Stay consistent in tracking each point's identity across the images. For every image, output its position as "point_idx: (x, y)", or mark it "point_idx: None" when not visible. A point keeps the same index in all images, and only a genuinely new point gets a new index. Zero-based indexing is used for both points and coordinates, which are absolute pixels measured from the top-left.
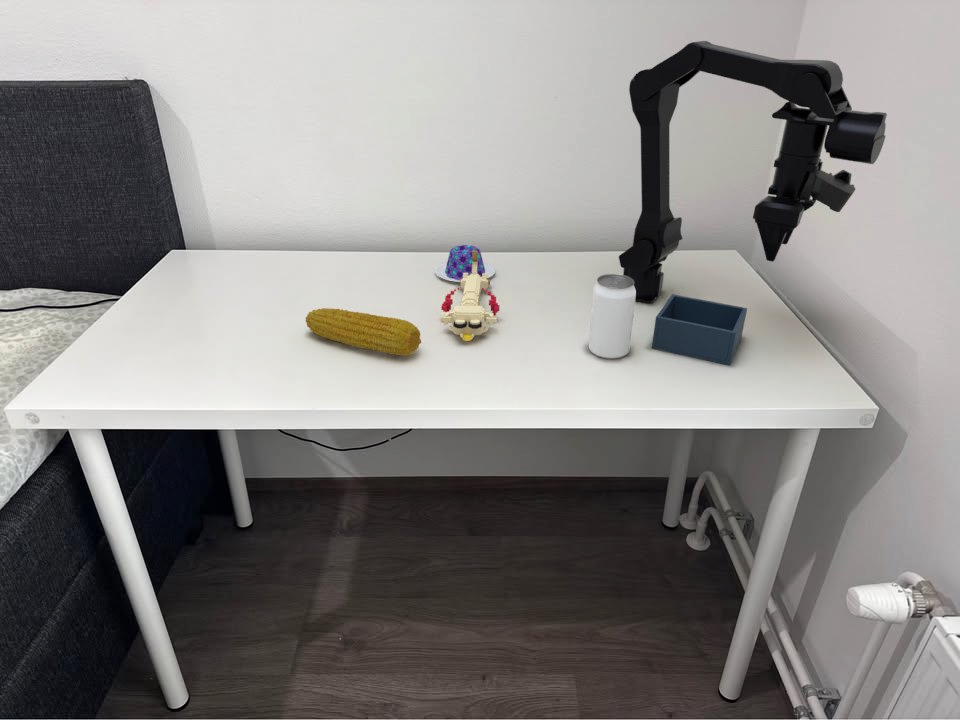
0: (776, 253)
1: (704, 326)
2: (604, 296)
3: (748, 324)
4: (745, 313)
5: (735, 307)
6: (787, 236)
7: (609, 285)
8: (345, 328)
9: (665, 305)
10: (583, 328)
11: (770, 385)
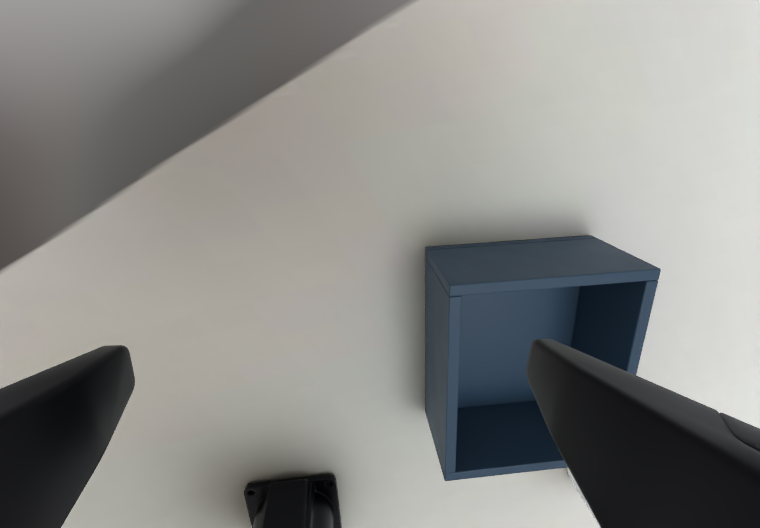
0: (608, 367)
1: (639, 352)
2: None
3: (316, 251)
4: (477, 279)
5: (460, 317)
6: (91, 390)
7: None
8: None
9: (532, 468)
10: (524, 518)
11: (665, 119)
